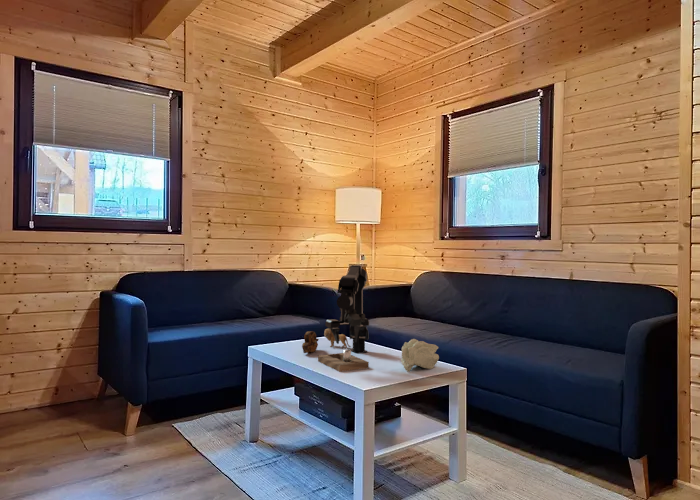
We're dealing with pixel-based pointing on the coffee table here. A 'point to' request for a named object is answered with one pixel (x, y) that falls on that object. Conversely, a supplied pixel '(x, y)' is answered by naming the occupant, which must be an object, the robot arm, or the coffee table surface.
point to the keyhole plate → (342, 362)
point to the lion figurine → (330, 337)
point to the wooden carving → (310, 342)
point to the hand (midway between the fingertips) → (347, 342)
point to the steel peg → (347, 355)
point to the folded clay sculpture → (419, 354)
